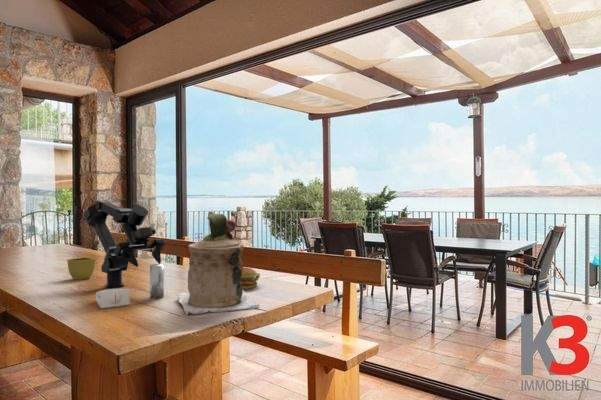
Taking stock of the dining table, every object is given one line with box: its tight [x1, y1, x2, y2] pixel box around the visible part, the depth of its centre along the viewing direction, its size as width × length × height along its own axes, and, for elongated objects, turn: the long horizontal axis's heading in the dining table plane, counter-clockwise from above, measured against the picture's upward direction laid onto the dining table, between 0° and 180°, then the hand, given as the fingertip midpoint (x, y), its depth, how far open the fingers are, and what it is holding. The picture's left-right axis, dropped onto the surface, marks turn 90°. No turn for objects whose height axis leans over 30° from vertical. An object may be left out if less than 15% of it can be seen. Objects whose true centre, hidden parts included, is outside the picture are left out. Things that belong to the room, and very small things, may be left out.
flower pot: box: [66, 256, 97, 281], centre depth 190 cm, size 9×9×9 cm
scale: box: [95, 288, 131, 309], centre depth 146 cm, size 13×10×5 cm
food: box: [240, 266, 261, 290], centre depth 172 cm, size 14×14×8 cm
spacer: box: [149, 263, 165, 300], centre depth 153 cm, size 5×5×12 cm
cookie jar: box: [176, 211, 260, 316], centre depth 144 cm, size 25×25×32 cm
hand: (149, 264), depth 157 cm, fingers open, 9 cm apart
